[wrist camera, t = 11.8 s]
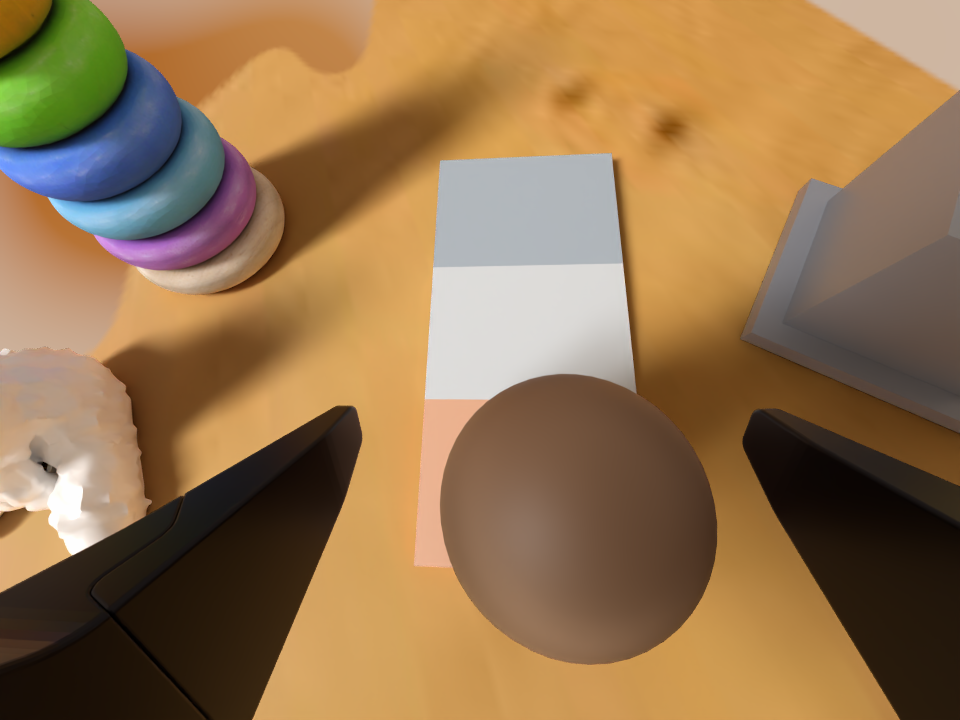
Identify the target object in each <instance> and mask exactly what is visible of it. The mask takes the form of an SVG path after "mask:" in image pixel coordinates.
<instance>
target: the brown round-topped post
mask: <svg viewBox="0 0 960 720" xmlns="http://www.w3.org/2000/svg"><path fill="white" fill-rule="evenodd" d="M440 517H441V526H442V532H443V538H444V543H445V546H446V550H447V553H448V556H449V560H450V562H451V565H452V567H453V569H454V571H455V574H456V576H457V578H458V580H459V582H460V584H461V585H462V587H463V589H464V590H465V592H466V594H467V595H468V597H469V598H470V599H471V601H472V602H473V603H474V605H475V606H476V607H477V608H478V610H479V611H480V612H481V613H482V614H483V615H484V616H485V617H486V618H487V619H488V620H489V621H490V622H491V623H492V624H493V625H494V626H495V627H496V628H497V629H499V630H500V631H501V632H503V633H504V634H505V635H507V636H508V637H509V638H510V639H512V640H514V641H515V642H517V643H519V644H521V645H522V646H524V647H526V648H528V649H529V650H531V651H533V652H536V653H538V654H541V655H543V656H546V657H548V658H551V659H555V660H560V661H564V662H568V663H575V664H587V665H594V664H608V663H614V662H618V661H622V660H627V659H630V658H633V657H635V656H638V655H640V654H642V653H645V652H647V651H649V650H651V649H652V648H654V647H655V646H657V645H659V644H660V643H662V642H664V641H665V640H666V639H667V638H669V637H670V636H671V635H672V634H673V633H674V632H676V631H677V630H678V629H679V628H680V627H681V626H682V625H683V624H684V622H685V621H686V620H687V619H688V618H689V616H690V615H691V614H692V613H693V611H694V609H695V608H696V606H697V605H698V603H699V601H700V600H701V598H702V596H703V594H704V592H705V589H706V587H707V585H708V582H709V580H710V576H711V573H712V569H713V565H714V561H715V554H716V546H717V519H716V512H715V504H714V500H713V496H712V492H711V489H710V485H709V482H708V479H707V477H706V474H705V471H704V469H703V466H702V464H701V462H700V460H699V459H698V457H697V455H696V453H695V451H694V449H693V448H692V446H691V445H690V443H689V442H688V440H687V439H686V438H685V436H684V435H683V433H682V432H681V431H680V430H679V429H678V428H677V426H676V425H675V424H674V423H673V422H672V421H671V420H670V419H669V418H668V417H667V416H666V415H665V414H664V413H663V412H662V411H661V410H659V409H658V408H657V407H656V406H654V405H653V404H652V403H650V402H649V401H647V400H646V399H645V398H643V397H642V396H640V395H638V394H636V393H634V392H633V391H631V390H629V389H627V388H625V387H623V386H620V385H618V384H615V383H613V382H610V381H607V380H604V379H600V378H596V377H593V376H586V375H579V374H554V375H545V376H540V377H536V378H532V379H528V380H526V381H523V382H520V383H518V384H515V385H513V386H511V387H509V388H507V389H505V390H503V391H502V392H500V393H498V394H497V395H495V396H494V397H493V398H491V399H490V400H488V401H487V402H486V403H485V404H484V405H483V406H482V407H481V408H479V409H478V410H477V411H476V412H475V413H474V415H473V416H472V417H471V418H470V419H469V421H468V422H467V423H466V424H465V426H464V427H463V429H462V430H461V432H460V434H459V435H458V437H457V438H456V440H455V443H454V445H453V447H452V449H451V451H450V453H449V456H448V459H447V462H446V466H445V469H444V473H443V479H442V484H441V494H440Z"/></svg>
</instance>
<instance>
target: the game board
mask: <svg viewBox="0 0 960 720" xmlns="http://www.w3.org/2000/svg"><path fill="white" fill-rule="evenodd" d="M554 374H579V375H586V376H593V377H596V378H600V379H604V380H607V381H610V382H613V383H615V384H618V385H620V386H623V387H625V388H627V389H629V390H631V391H633V392H634V393H636V384H635V374H634V365H633V355H632V346H631V336H630V326H629V317H628V307H627V298H626V288H625V278H624V269H623V259H622V250H621V240H620V230H619V221H618V211H617V202H616V192H615V183H614V173H613V163H612V154H611V153H605V154H582V155H559V156H535V157H512V158H489V159H466V160H443V161H440V173H439V188H438V204H437V219H436V235H435V250H434V266H433V281H432V297H431V312H430V328H429V343H428V359H427V374H426V389H425V405H424V420H423V436H422V451H421V467H420V482H419V498H418V513H417V529H416V544H415V560H414V566H427V567H451V568H453V567H452V565H451V562H450V560H449V556H448V553H447V550H446V546H445V543H444V538H443V532H442V526H441V517H440V494H441V484H442V479H443V473H444V469H445V466H446V462H447V459H448V456H449V453H450V451H451V449H452V447H453V445H454V443H455V440H456V438H457V437H458V435H459V434H460V432H461V430H462V429H463V427H464V426H465V424H466V423H467V422H468V421H469V419H470V418H471V417H472V416H473V415H474V413H475V412H476V411H477V410H478V409H479V408H481V407H482V406H483V405H484V404H485V403H486V402H487V401H488V400H490V399H491V398H493V397H494V396H495V395H497V394H498V393H500V392H502V391H503V390H505V389H507V388H509V387H511V386H513V385H515V384H518V383H520V382H523V381H526V380H528V379H532V378H536V377H540V376H545V375H554ZM636 394H637V393H636Z"/></svg>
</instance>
